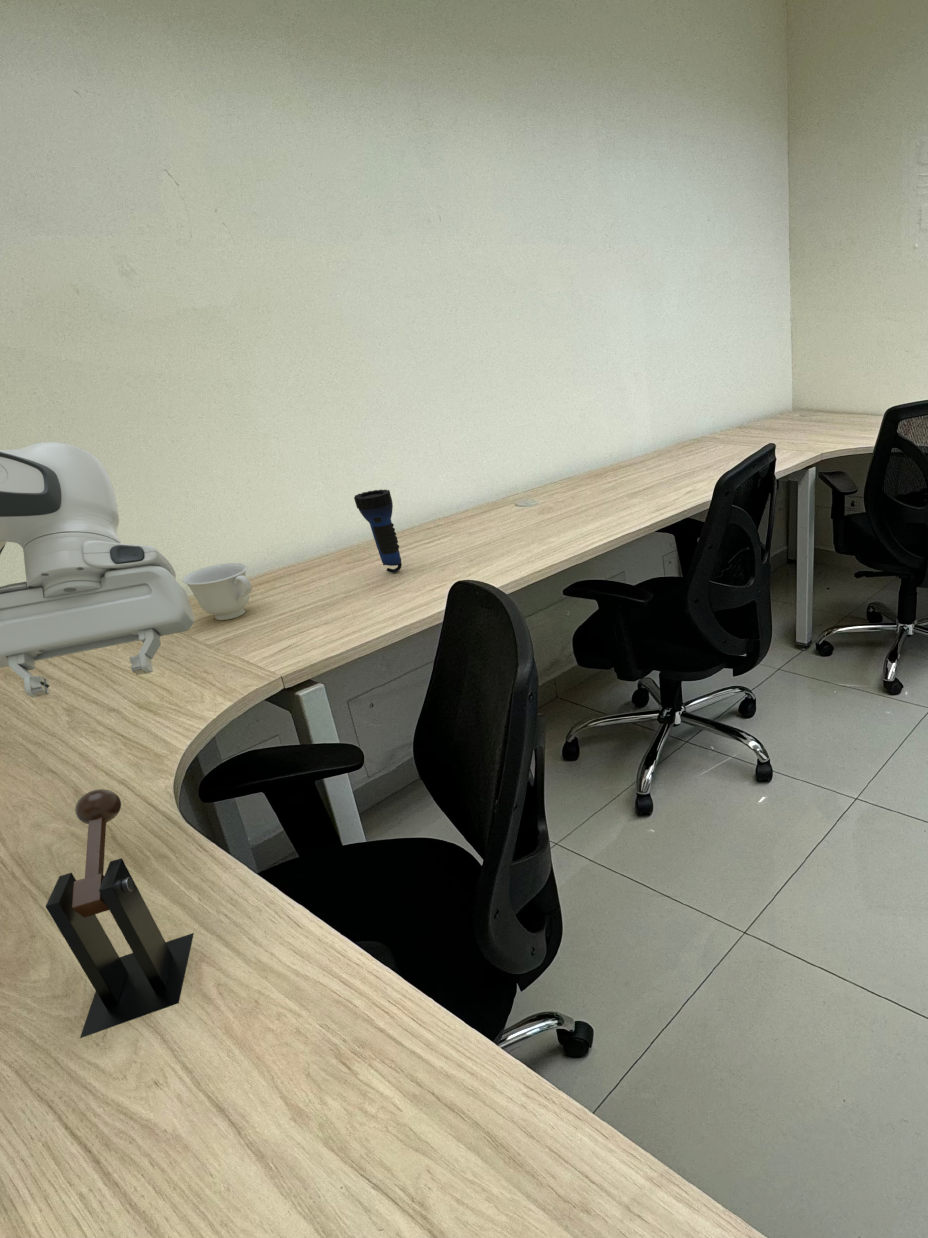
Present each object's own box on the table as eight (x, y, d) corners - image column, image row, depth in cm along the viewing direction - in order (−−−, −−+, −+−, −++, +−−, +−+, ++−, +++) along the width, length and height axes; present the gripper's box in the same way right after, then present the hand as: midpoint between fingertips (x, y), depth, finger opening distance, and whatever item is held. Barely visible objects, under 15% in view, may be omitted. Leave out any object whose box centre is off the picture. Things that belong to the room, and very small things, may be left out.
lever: (86, 806, 80) (69, 789, 77) (128, 795, 81) (112, 778, 79) (78, 923, 73) (58, 908, 70) (123, 909, 74) (106, 894, 71)
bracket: (109, 969, 81) (48, 863, 75) (197, 940, 84) (146, 835, 78) (84, 1046, 73) (13, 934, 66) (183, 1011, 76) (123, 900, 69)
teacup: (236, 630, 160) (219, 586, 156) (185, 623, 165) (168, 580, 160) (283, 607, 170) (269, 565, 166) (234, 601, 175) (219, 561, 171)
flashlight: (369, 575, 187) (346, 495, 178) (398, 564, 193) (377, 487, 184) (387, 580, 182) (365, 499, 174) (416, 570, 188) (397, 491, 180)
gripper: (-57, 580, 81) (-49, 700, 77) (170, 544, 89) (187, 651, 85) (-21, 604, 87) (-12, 717, 83) (189, 568, 94) (207, 669, 91)
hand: (91, 683), depth 84 cm, fingers open, 8 cm apart
